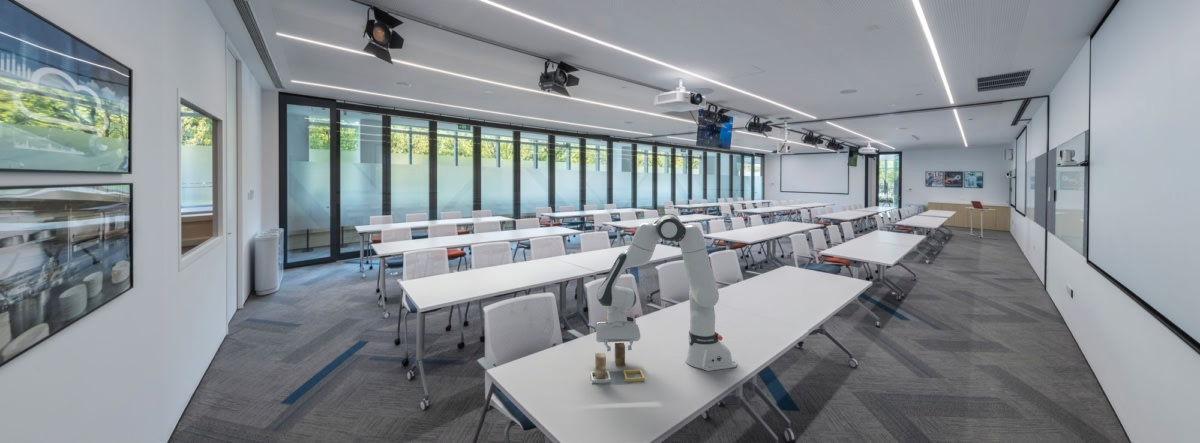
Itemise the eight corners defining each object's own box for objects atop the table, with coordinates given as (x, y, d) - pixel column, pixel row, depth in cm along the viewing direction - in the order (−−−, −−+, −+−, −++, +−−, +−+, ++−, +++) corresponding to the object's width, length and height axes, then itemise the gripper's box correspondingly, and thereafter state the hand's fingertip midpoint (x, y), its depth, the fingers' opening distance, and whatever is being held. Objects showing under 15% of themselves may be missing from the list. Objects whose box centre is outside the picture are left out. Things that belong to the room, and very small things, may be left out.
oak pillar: (604, 375, 182) (604, 352, 181) (605, 380, 178) (605, 356, 177) (595, 376, 181) (595, 353, 180) (596, 380, 177) (596, 357, 176)
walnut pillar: (623, 364, 196) (623, 342, 195) (624, 367, 192) (625, 346, 191) (614, 364, 195) (614, 343, 194) (615, 368, 191) (616, 346, 190)
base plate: (640, 372, 187) (640, 367, 187) (646, 385, 175) (646, 380, 175) (589, 374, 185) (589, 369, 185) (592, 388, 173) (592, 382, 173)
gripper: (595, 319, 199) (596, 348, 190) (638, 318, 201) (642, 346, 192) (594, 325, 204) (595, 353, 195) (637, 324, 205) (640, 352, 197)
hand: (619, 350), depth 193 cm, fingers open, 8 cm apart
